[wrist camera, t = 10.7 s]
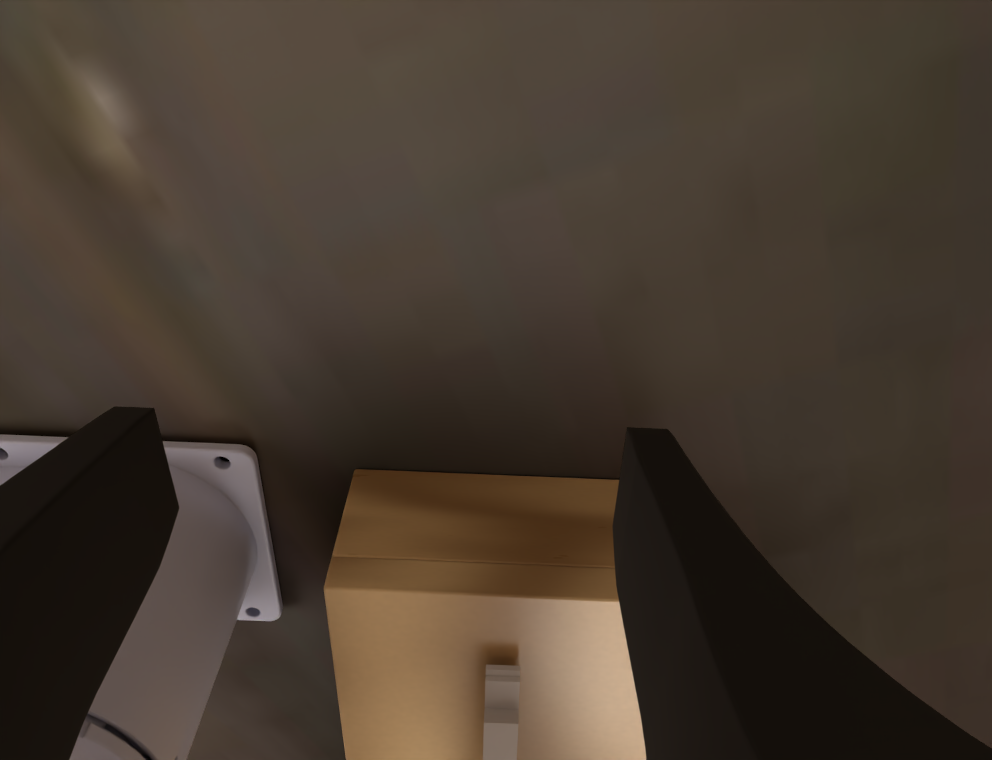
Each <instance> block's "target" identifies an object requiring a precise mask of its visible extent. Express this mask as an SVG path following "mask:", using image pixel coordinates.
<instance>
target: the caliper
mask: <svg viewBox="0 0 992 760" xmlns="http://www.w3.org/2000/svg"><path fill="white" fill-rule="evenodd" d="M519 688H520V666H511V665H486V678H485V711H484V737H483V760H517V742H518V709H519Z"/></svg>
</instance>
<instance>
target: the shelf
mask: <svg viewBox="0 0 992 760" xmlns="http://www.w3.org/2000/svg"><path fill="white" fill-rule="evenodd" d="M618 485H619V480H609V479H585V478H561V477H536V476H512V475H488V474H464V473H440V472H416V471H391V470H367V469H355V470H354V474H353V477H352V481H351V485H350V489H349V493H348V496H347V500H346V504H345V508H344V512H343V516H342V519H341V523H340V527H339V531H338V535H337V538H336V542H335V546H334V550H333V554H332V558H331V561H330V565H329V569H328V573H327V577H326V580H325V584H324V595H325V603H326V611H327V618H328V626H329V634H330V641H331V649H332V657H333V664H334V672H335V680H336V687H337V695H338V702H339V710H340V718H341V725H342V733H343V741H344V748H345V756H346V760H483V737H484V711H485V678H486V665H511V666H520V688H519V709H518V742H517V760H646V750H645V742H644V736H643V729H642V722H641V716H640V710H639V705H638V700H637V694H636V689H635V684H634V679H633V673H632V668H631V663H630V657H629V652H628V647H627V642H626V636H625V631H624V626H623V620H622V615H621V609H620V604H619V598H618V593H617V587H616V576H615V562H614V546H613V529H612V525H613V518H614V512H615V505H616V498H617V492H618Z"/></svg>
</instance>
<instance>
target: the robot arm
mask: <svg viewBox="0 0 992 760" xmlns="http://www.w3.org/2000/svg"><path fill="white" fill-rule="evenodd" d="M0 448H2V449H3V450H5V451H6V452H5V451H3V450H1V449H0V760H186V759H187V756H188V754H189V751H190V748H191V745H192V743H193V740H194V737H195V734H196V731H197V729H198V726H199V723H200V720H201V718H202V715H203V712H204V709H205V706H206V704H207V701H208V698H209V695H210V693H211V690H212V687H213V684H214V682H215V679H216V676H217V673H218V670H219V668H220V665H221V662H222V659H223V657H224V654H225V651H226V648H227V645H228V643H229V640H230V637H231V634H232V632H233V629H234V626H235V623H236V621H237V620H253V621H274V620H276V619H278V618H279V617H280V616H281V613H282V610H283V602H282V597H281V591H280V585H279V579H278V574H277V568H276V562H275V556H274V551H273V545H272V539H271V533H270V528H269V522H268V516H267V511H266V505H265V499H264V493H263V488H262V482H261V476H260V470H259V465H258V459H257V456H256V453H255V452H254V451H253V450H252V449H251V448H249V447H248V446H246V445H241V444H222V443H198V442H173V441H162V437H161V433H160V429H159V425H158V421H157V418H156V414H155V410H154V408H138V407H113V408H111V409H110V410H108V411H107V412H105V413H103V414H102V415H100V416H99V417H97V418H96V419H94V420H93V421H91V422H90V423H88V424H87V425H85V426H84V427H83V428H81V429H80V430H78V431H77V432H75V433H74V434H73V435H71V436H70V437H52V436H28V435H3V434H0ZM220 456H221V457H225V458H227V459H228V460H229V461H223V460H222V459H220V458H219V457H220ZM612 529H613V546H614V562H615V576H616V587H617V593H618V598H619V604H620V609H621V615H622V620H623V626H624V631H625V636H626V642H627V647H628V652H629V657H630V663H631V668H632V673H633V679H634V684H635V689H636V694H637V700H638V705H639V710H640V716H641V722H642V729H643V736H644V742H645V750H646V760H992V749H991V748H990V747H988V746H987V745H985V744H984V743H982V742H980V741H979V740H977V739H976V738H974V737H973V736H971V735H970V734H968V733H967V732H965V731H964V730H962V729H961V728H959V727H958V726H957V725H955V724H954V723H952V722H951V721H950V720H948V719H947V718H945V717H944V716H943V715H941V714H940V713H938V712H937V711H936V710H934V709H933V708H932V707H930V706H929V705H927V704H926V703H925V702H923V701H922V700H920V699H919V698H918V697H916V696H915V695H914V694H912V693H911V692H910V691H908V690H907V689H906V688H905V687H903V686H902V685H901V684H899V683H898V682H897V681H895V680H894V679H893V678H892V677H890V676H889V675H888V674H887V673H885V672H884V671H883V670H882V669H881V668H879V667H878V666H877V665H876V664H875V663H873V662H872V661H871V660H870V659H868V658H867V657H866V656H865V655H864V654H862V653H861V652H860V651H859V650H858V649H856V648H855V647H854V646H853V645H852V644H850V643H849V642H848V641H847V640H846V639H845V638H843V637H842V636H841V635H840V634H839V633H838V632H837V631H836V630H835V629H833V628H832V627H831V626H830V625H829V624H828V623H827V622H826V621H825V620H824V619H823V618H822V617H820V616H819V615H818V614H817V613H816V612H815V611H814V610H813V609H812V608H811V607H810V606H809V605H808V604H807V603H806V602H805V601H804V600H803V599H802V598H801V597H800V596H799V595H798V594H797V593H796V592H795V591H794V590H793V589H792V588H791V587H790V586H789V585H788V584H787V583H786V581H785V580H784V579H783V578H782V577H781V576H780V575H779V574H778V573H777V572H776V571H775V569H774V568H773V567H772V566H771V565H770V564H769V563H768V561H767V560H766V559H765V558H764V557H763V556H762V555H761V553H760V552H759V551H758V550H757V549H756V548H755V547H754V545H753V544H752V543H751V542H750V540H749V539H748V538H747V537H746V536H745V534H744V533H743V532H742V531H741V529H740V528H739V527H738V526H737V524H736V523H735V522H734V520H733V519H732V518H731V517H730V515H729V514H728V513H727V511H726V510H725V509H724V508H723V506H722V505H721V504H720V502H719V501H718V500H717V498H716V497H715V496H714V494H713V493H712V492H711V490H710V489H709V487H708V486H707V485H706V483H705V482H704V480H703V479H702V478H701V476H700V475H699V473H698V472H697V470H696V469H695V468H694V466H693V465H692V463H691V462H690V460H689V459H688V457H687V456H686V454H685V453H684V451H683V450H682V448H681V447H680V445H679V444H678V442H677V440H676V439H675V437H674V436H673V435H672V434H671V432H670V431H669V430H668V429H652V428H627V432H626V439H625V445H624V452H623V458H622V465H621V472H620V478H619V485H618V492H617V498H616V505H615V512H614V518H613V525H612Z"/></svg>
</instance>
